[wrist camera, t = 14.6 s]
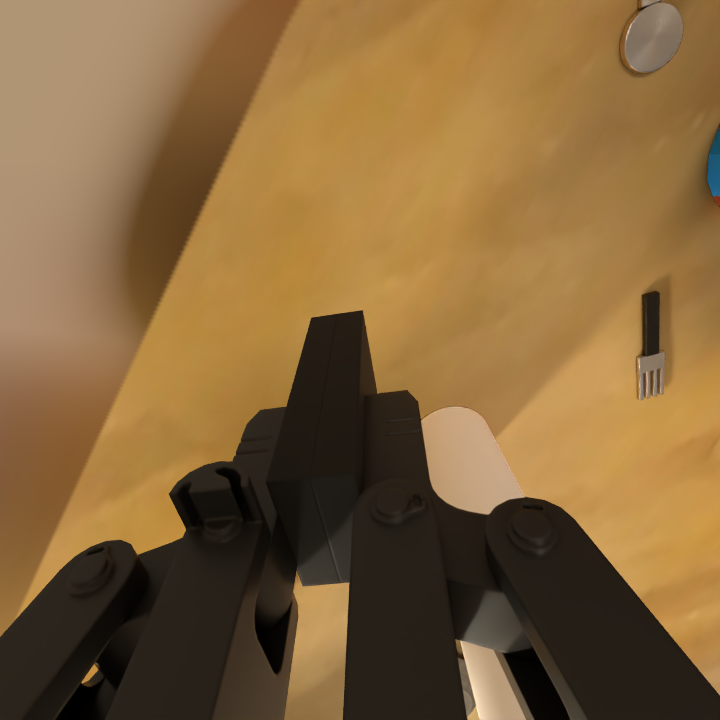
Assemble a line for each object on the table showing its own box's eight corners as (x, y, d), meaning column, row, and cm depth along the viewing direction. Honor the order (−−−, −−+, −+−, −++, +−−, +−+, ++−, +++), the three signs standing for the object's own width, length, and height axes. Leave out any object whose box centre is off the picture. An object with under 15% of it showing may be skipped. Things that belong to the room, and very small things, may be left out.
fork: (635, 296, 37) (638, 298, 36) (663, 288, 36) (666, 290, 36) (636, 398, 41) (640, 401, 41) (661, 391, 41) (665, 394, 40)
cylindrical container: (451, 392, 40) (602, 729, 17) (505, 434, 42) (699, 779, 20) (395, 444, 42) (466, 804, 20) (449, 482, 44) (568, 840, 22)
